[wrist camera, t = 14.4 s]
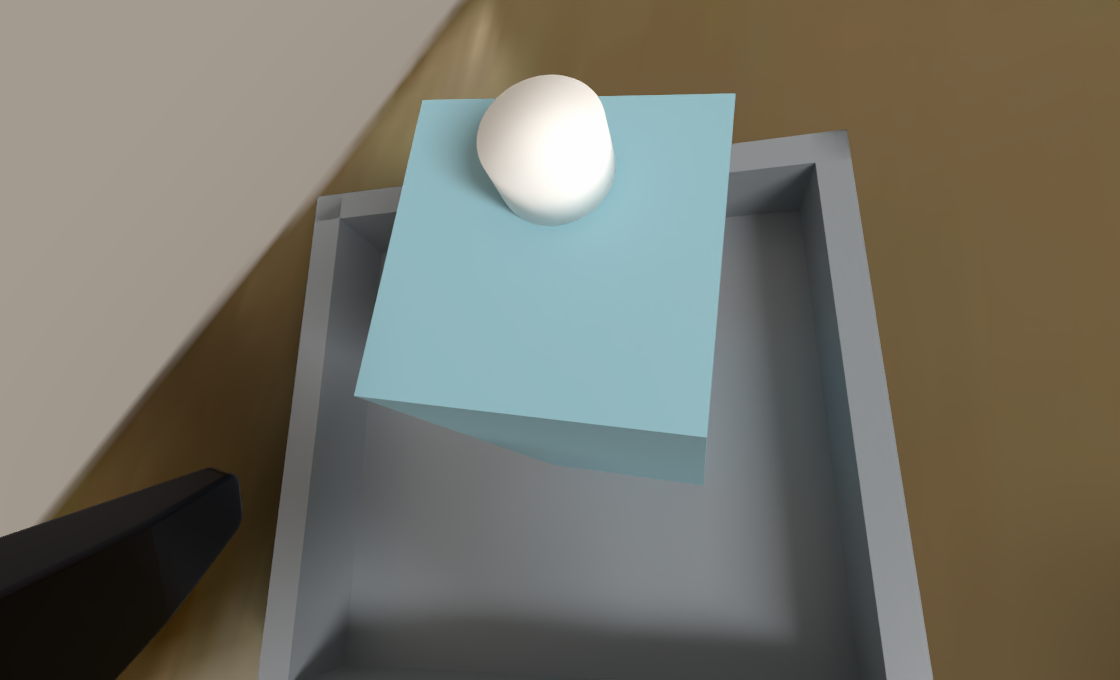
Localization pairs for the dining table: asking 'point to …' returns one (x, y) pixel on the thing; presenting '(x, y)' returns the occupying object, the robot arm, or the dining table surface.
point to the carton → (559, 276)
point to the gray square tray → (612, 486)
